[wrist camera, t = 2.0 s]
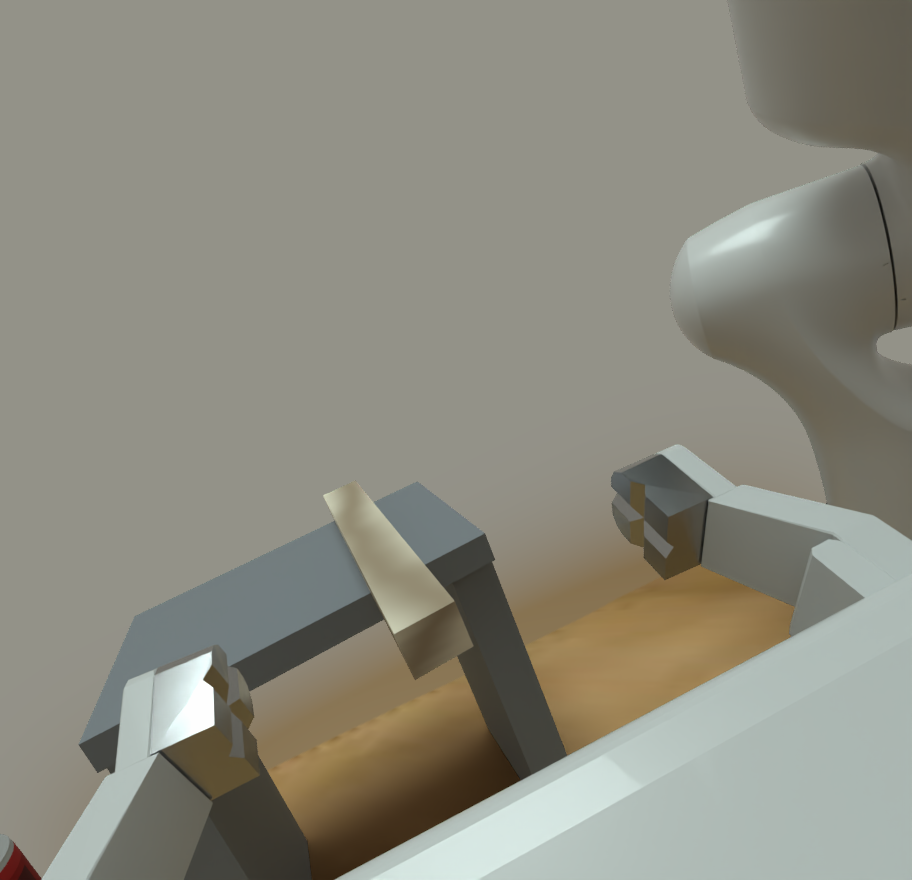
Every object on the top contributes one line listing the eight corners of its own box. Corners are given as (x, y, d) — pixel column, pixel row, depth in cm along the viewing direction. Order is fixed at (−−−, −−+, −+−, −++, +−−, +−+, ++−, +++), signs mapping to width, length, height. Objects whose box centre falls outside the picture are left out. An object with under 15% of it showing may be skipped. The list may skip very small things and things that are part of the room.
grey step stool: (508, 705, 59) (416, 480, 52) (598, 827, 44) (484, 533, 37) (274, 849, 53) (135, 614, 46) (285, 1050, 37) (78, 744, 31)
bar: (366, 505, 51) (355, 480, 50) (473, 646, 26) (454, 601, 26) (334, 520, 50) (323, 495, 49) (415, 680, 26) (394, 634, 25)
